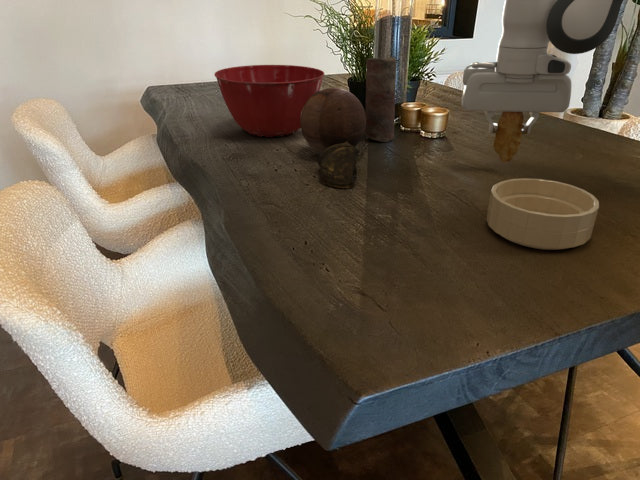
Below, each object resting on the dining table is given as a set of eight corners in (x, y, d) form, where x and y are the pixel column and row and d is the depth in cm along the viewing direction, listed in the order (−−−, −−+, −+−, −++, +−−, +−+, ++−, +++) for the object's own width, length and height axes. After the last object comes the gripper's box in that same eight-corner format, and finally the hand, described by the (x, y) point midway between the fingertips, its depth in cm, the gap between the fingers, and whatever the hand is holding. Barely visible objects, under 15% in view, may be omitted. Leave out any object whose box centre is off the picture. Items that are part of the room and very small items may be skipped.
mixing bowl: (332, 119, 144) (332, 64, 136) (314, 148, 119) (313, 82, 112) (240, 116, 148) (235, 62, 141) (204, 143, 123) (196, 79, 116)
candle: (359, 140, 124) (362, 57, 115) (369, 133, 130) (372, 54, 121) (388, 144, 121) (393, 59, 112) (397, 137, 127) (402, 55, 118)
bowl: (572, 213, 84) (581, 180, 82) (603, 256, 71) (614, 219, 68) (480, 208, 87) (485, 176, 84) (493, 249, 73) (500, 213, 70)
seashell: (366, 187, 95) (358, 153, 91) (321, 197, 96) (312, 164, 93) (361, 159, 109) (354, 129, 106) (322, 167, 110) (314, 138, 107)
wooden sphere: (374, 149, 118) (377, 85, 111) (348, 168, 106) (349, 97, 99) (319, 141, 124) (319, 80, 117) (289, 158, 112) (286, 91, 105)
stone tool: (492, 163, 103) (503, 89, 96) (490, 159, 105) (501, 87, 98) (517, 163, 102) (530, 90, 95) (515, 160, 104) (527, 87, 97)
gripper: (466, 64, 93) (458, 136, 99) (580, 64, 90) (565, 138, 96) (462, 60, 98) (455, 128, 105) (570, 59, 95) (556, 130, 102)
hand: (508, 133), depth 100 cm, fingers closed on stone tool, 5 cm apart
